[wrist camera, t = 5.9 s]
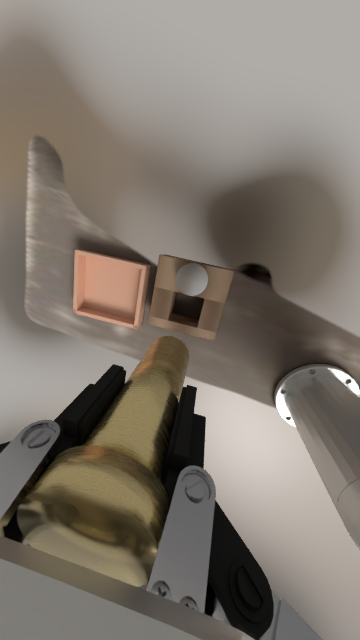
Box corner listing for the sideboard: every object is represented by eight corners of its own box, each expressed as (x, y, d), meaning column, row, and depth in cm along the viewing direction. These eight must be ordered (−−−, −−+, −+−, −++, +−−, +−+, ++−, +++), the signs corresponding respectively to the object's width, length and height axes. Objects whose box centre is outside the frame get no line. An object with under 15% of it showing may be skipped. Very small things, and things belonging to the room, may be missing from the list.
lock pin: (201, 337, 15) (174, 524, 5) (189, 383, 16) (147, 605, 6) (148, 324, 15) (11, 468, 5) (140, 369, 17) (21, 557, 6)
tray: (151, 265, 31) (146, 266, 28) (142, 324, 34) (137, 329, 32) (85, 249, 32) (74, 249, 29) (82, 309, 35) (73, 312, 33)
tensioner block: (231, 269, 29) (236, 272, 24) (213, 330, 33) (214, 346, 27) (166, 254, 30) (155, 254, 24) (155, 316, 33) (144, 328, 28)
